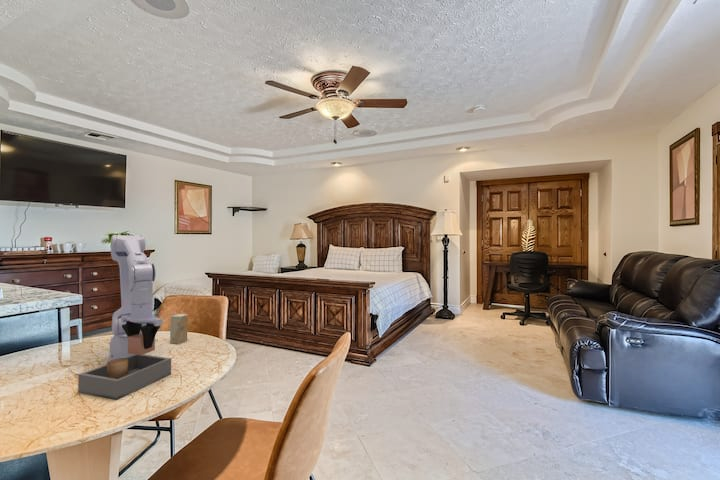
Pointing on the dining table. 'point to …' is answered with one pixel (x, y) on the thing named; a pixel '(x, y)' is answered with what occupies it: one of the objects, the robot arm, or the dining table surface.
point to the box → (178, 328)
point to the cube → (138, 345)
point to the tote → (139, 376)
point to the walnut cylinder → (117, 368)
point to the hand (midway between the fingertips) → (141, 346)
